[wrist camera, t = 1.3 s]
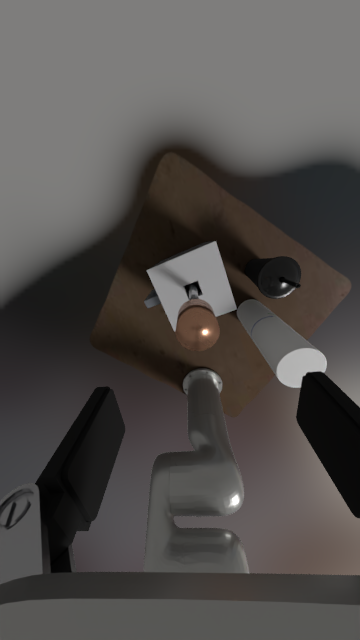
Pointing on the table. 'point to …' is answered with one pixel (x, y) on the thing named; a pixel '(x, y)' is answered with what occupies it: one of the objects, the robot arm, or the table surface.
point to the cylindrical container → (280, 344)
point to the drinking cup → (274, 275)
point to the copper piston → (196, 321)
